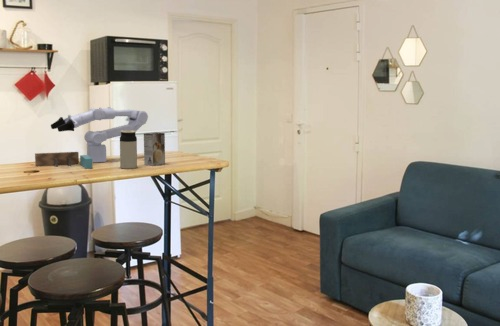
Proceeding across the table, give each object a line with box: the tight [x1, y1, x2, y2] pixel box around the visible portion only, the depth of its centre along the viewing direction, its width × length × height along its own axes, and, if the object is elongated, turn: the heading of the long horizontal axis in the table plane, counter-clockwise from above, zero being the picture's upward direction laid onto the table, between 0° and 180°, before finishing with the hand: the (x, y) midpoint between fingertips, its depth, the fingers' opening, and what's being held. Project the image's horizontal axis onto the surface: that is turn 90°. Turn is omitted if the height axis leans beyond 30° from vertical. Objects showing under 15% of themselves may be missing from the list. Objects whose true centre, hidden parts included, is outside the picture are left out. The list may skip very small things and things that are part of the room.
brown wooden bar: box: [34, 151, 80, 168], centre depth 253 cm, size 20×6×6 cm, turn 118°
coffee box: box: [143, 132, 166, 167], centre depth 262 cm, size 9×6×16 cm
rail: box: [79, 154, 93, 170], centre depth 252 cm, size 3×15×5 cm, turn 28°
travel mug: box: [119, 130, 138, 170], centre depth 250 cm, size 8×8×18 cm
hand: (54, 128), depth 252 cm, fingers open, 7 cm apart
